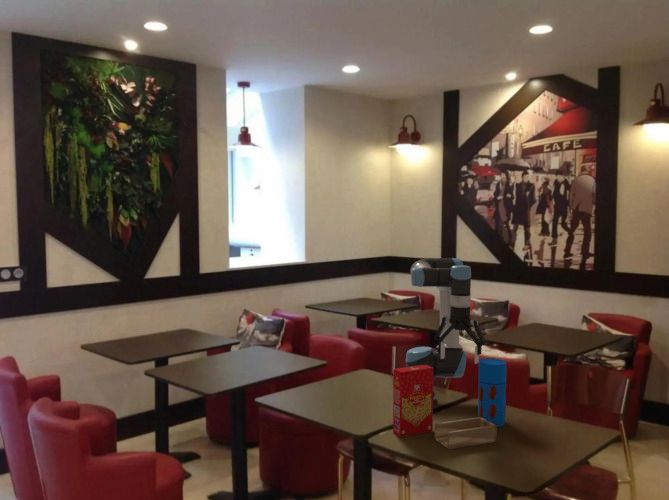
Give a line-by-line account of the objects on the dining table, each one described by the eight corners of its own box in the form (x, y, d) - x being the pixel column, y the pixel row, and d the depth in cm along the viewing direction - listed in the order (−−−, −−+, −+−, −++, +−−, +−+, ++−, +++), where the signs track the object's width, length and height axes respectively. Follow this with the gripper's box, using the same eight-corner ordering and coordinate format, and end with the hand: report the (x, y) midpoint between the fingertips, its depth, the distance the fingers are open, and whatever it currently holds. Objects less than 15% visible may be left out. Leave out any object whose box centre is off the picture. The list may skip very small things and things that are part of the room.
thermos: (506, 427, 241) (507, 365, 239) (478, 425, 243) (479, 364, 241) (504, 418, 252) (505, 358, 250) (477, 416, 254) (478, 357, 252)
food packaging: (400, 437, 231) (400, 372, 229) (393, 432, 236) (393, 368, 234) (432, 431, 237) (433, 367, 236) (425, 426, 242) (425, 364, 240)
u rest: (434, 439, 229) (434, 423, 228) (480, 432, 236) (480, 416, 236) (449, 449, 219) (449, 433, 219) (496, 441, 226) (496, 425, 226)
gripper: (426, 304, 236) (425, 358, 238) (489, 310, 223) (488, 367, 225) (433, 301, 243) (432, 354, 244) (495, 307, 230) (494, 362, 231)
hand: (459, 360), depth 235 cm, fingers open, 13 cm apart
